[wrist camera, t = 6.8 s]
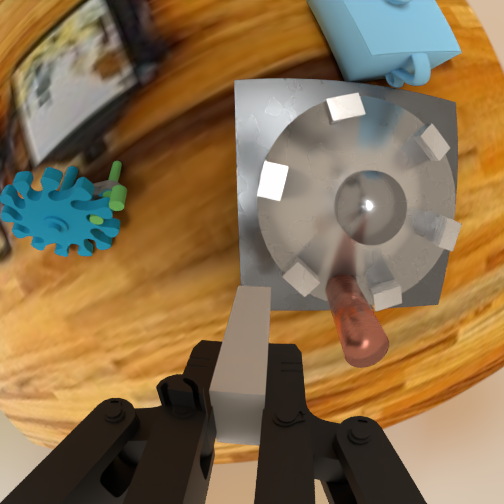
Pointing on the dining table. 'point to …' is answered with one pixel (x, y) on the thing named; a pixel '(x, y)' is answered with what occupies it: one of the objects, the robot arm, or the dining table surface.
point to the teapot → (386, 38)
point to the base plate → (259, 144)
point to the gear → (65, 209)
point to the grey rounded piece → (357, 211)
